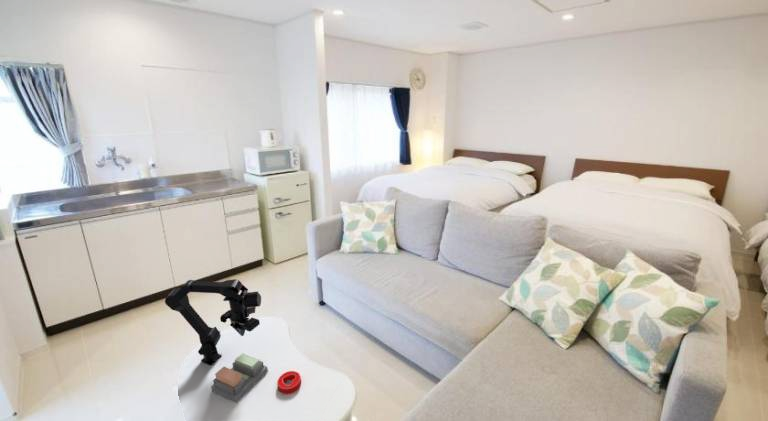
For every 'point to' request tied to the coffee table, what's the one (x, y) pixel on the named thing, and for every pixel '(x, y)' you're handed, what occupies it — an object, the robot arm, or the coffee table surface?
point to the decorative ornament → (286, 377)
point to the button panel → (244, 386)
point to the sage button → (247, 361)
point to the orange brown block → (228, 377)
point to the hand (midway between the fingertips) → (242, 335)
